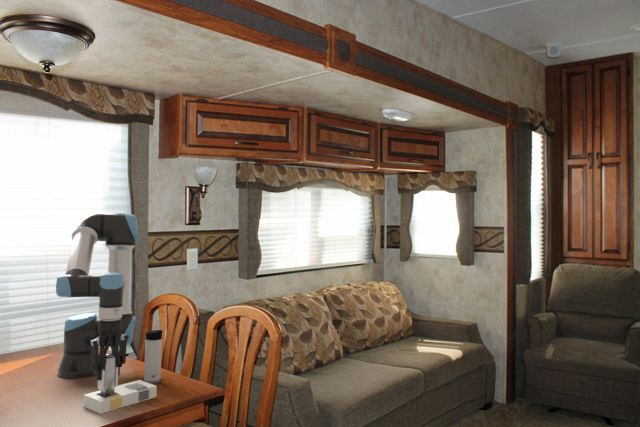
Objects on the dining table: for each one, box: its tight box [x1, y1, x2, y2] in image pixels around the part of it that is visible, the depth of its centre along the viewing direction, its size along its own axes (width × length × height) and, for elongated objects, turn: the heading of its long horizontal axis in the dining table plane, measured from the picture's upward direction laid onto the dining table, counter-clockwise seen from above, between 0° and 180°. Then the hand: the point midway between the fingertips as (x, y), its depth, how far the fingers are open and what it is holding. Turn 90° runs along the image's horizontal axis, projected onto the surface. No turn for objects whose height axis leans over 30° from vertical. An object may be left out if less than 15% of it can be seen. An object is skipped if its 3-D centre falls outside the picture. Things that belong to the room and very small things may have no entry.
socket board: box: [83, 379, 158, 415], centre depth 191 cm, size 10×22×4 cm, turn 145°
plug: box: [100, 352, 116, 398], centre depth 186 cm, size 4×4×15 cm
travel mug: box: [143, 329, 164, 385], centre depth 214 cm, size 6×7×20 cm
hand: (107, 387), depth 186 cm, fingers closed on plug, 4 cm apart
